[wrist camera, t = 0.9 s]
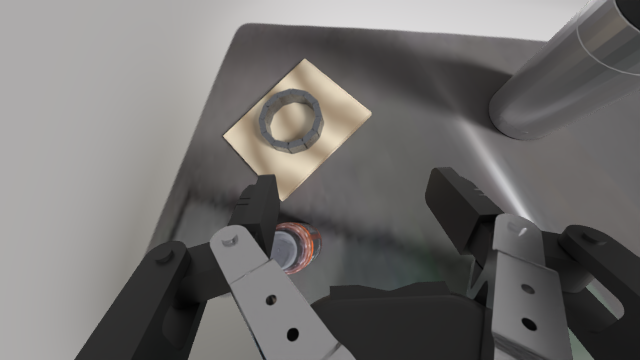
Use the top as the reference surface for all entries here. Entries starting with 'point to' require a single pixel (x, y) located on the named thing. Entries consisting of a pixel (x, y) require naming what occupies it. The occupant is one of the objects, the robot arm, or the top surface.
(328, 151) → the birch board
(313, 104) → the metal collar
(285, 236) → the supplement bottle
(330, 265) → the top surface
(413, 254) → the top surface
